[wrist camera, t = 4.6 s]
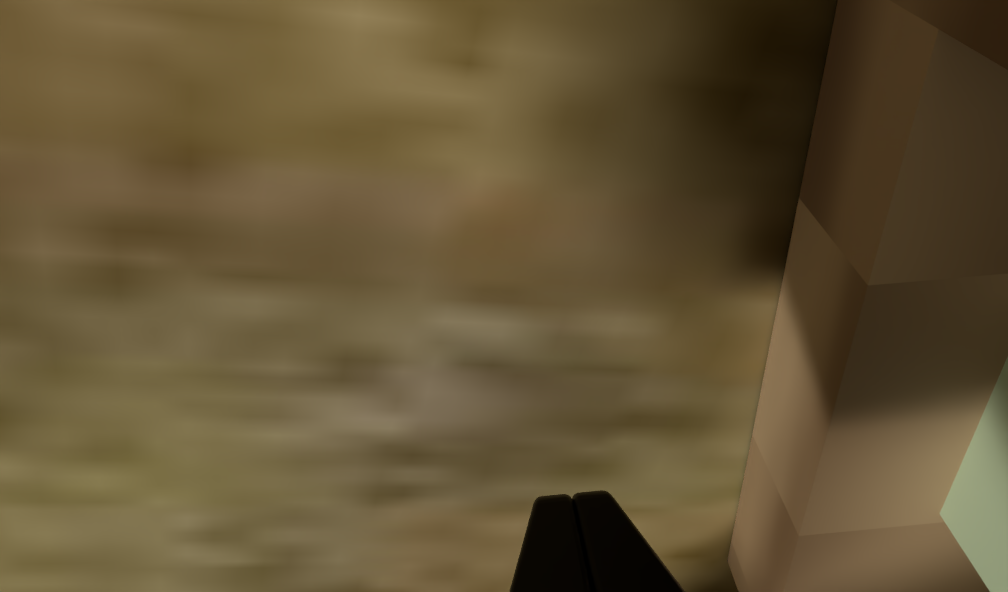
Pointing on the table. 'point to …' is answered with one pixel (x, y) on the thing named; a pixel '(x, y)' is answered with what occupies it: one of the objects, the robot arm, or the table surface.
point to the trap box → (885, 308)
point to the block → (984, 493)
